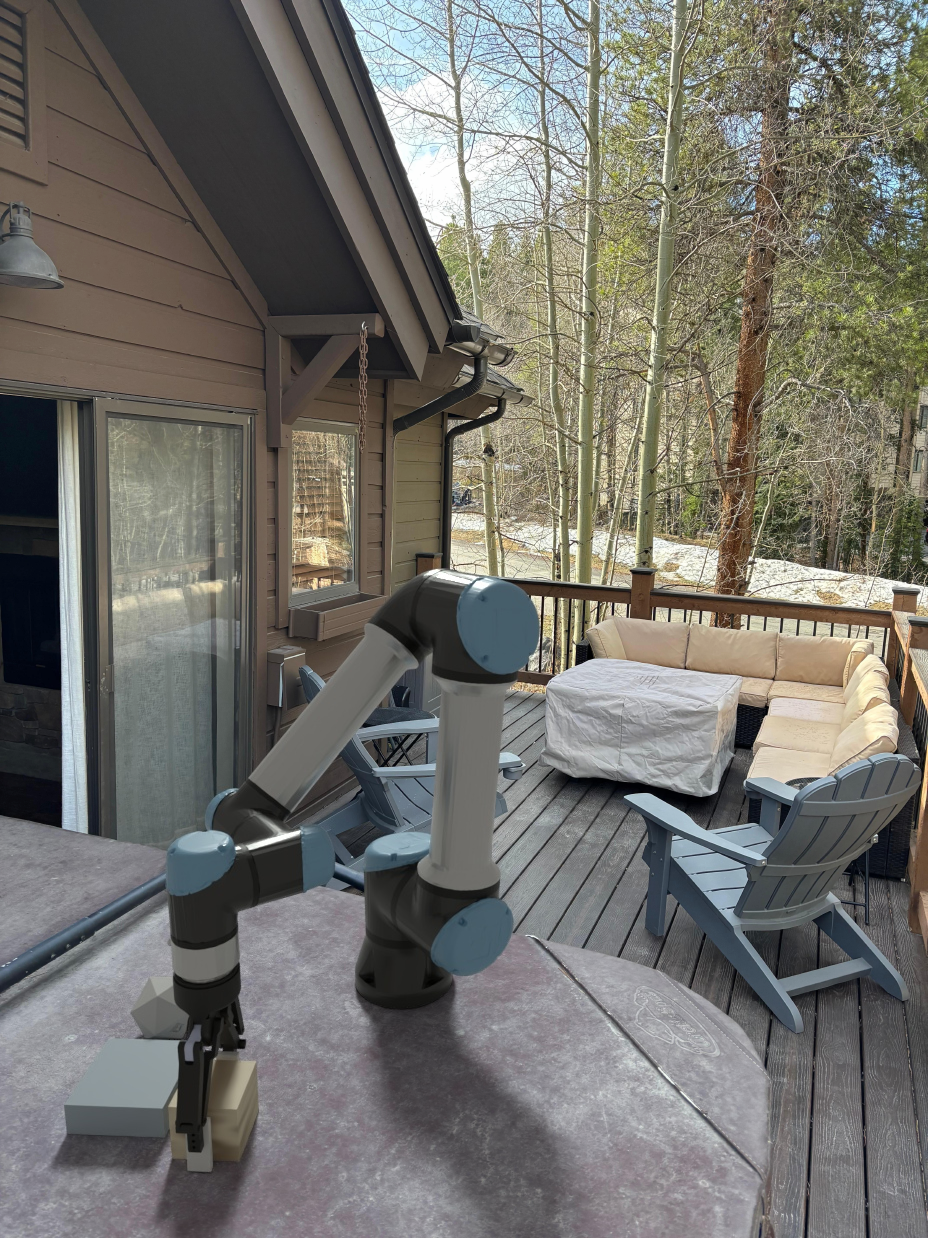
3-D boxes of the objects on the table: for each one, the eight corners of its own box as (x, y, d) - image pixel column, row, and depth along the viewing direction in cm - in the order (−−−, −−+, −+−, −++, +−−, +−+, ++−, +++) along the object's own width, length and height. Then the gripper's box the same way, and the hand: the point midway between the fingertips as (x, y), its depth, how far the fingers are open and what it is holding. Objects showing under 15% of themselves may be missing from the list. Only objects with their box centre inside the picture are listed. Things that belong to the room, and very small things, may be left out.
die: (161, 1066, 118) (202, 1001, 119) (109, 1030, 118) (150, 966, 120) (180, 1046, 126) (218, 986, 127) (131, 1013, 126) (169, 954, 128)
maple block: (258, 1111, 109) (256, 1061, 108) (239, 1162, 101) (236, 1109, 100) (195, 1108, 109) (192, 1059, 108) (171, 1159, 102) (168, 1107, 100)
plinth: (199, 1068, 116) (197, 1041, 116) (164, 1137, 105) (162, 1108, 104) (110, 1064, 117) (108, 1038, 116) (66, 1134, 105) (63, 1105, 104)
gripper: (207, 913, 112) (216, 1065, 117) (133, 1029, 90) (147, 1212, 94) (265, 914, 112) (271, 1067, 116) (205, 1031, 90) (216, 1215, 94)
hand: (216, 1132), depth 105 cm, fingers open, 10 cm apart
